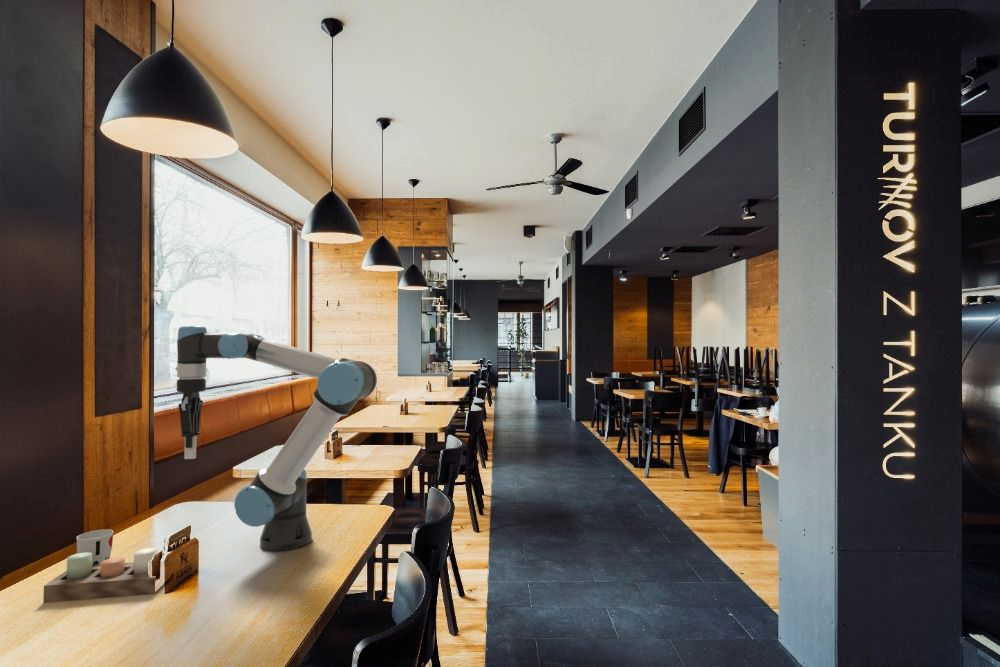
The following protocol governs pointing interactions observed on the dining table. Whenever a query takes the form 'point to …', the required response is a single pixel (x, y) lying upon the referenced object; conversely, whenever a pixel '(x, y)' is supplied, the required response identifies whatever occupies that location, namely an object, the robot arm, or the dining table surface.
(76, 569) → the pale green rounded cube
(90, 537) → the cup
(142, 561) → the button cream
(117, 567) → the pink rounded cube
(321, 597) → the dining table surface
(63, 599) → the wooden slotted tray
